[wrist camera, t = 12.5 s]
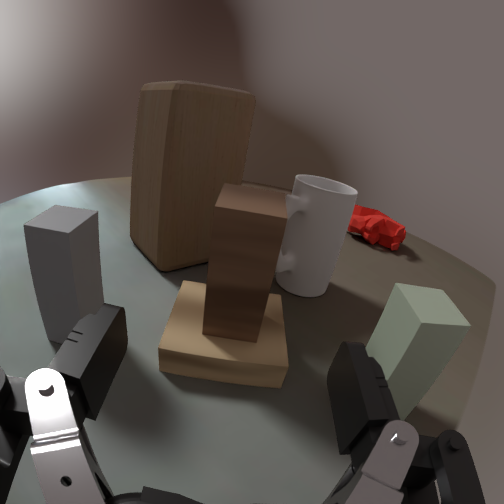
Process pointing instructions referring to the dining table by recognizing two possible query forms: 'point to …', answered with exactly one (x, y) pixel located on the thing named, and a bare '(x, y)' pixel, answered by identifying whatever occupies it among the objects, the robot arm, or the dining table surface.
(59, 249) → the grey post
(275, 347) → the oak slab
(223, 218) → the walnut post
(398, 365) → the sage post
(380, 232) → the animal figurine
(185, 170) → the wooden block
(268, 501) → the dining table surface
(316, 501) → the dining table surface
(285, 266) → the mug
